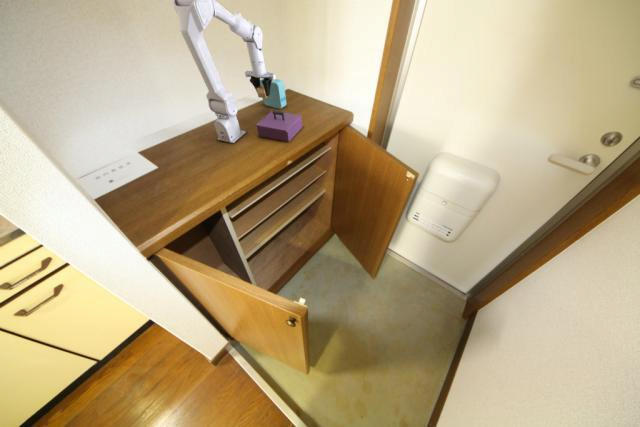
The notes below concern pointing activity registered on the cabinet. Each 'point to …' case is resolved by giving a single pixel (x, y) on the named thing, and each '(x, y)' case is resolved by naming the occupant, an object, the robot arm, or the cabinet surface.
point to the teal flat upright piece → (275, 94)
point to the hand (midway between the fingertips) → (264, 95)
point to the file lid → (278, 121)
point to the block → (261, 92)
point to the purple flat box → (280, 132)
